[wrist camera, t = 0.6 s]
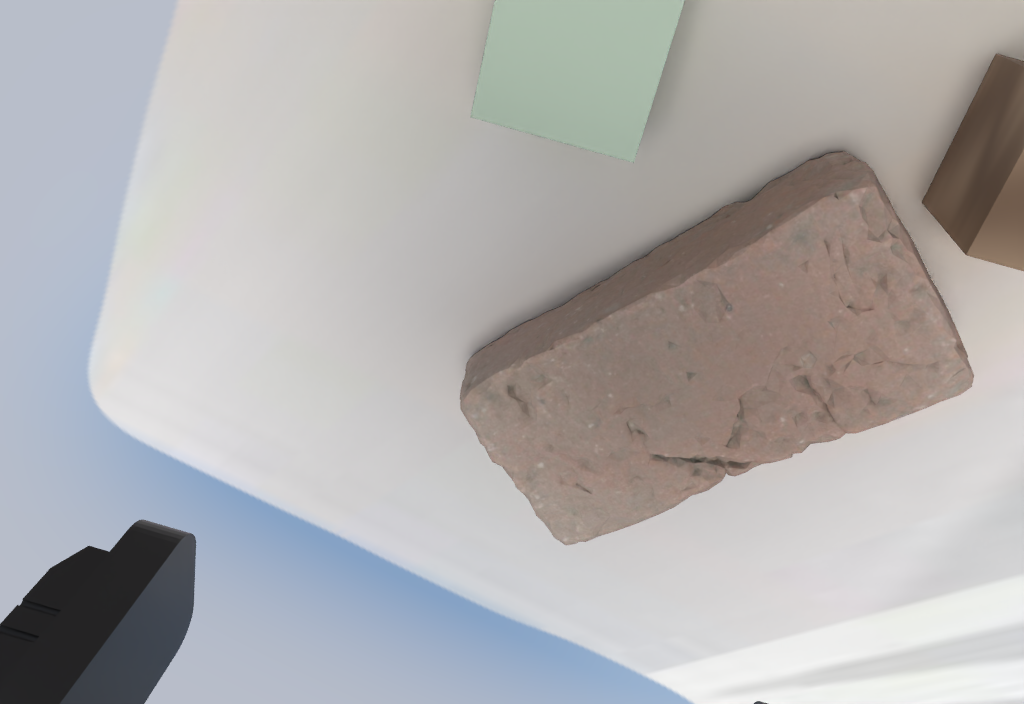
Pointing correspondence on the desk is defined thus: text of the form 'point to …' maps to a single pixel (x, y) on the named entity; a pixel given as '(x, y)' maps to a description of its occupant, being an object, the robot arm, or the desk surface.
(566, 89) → the green block
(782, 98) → the desk surface
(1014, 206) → the walnut block
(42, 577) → the robot arm
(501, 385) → the brick
